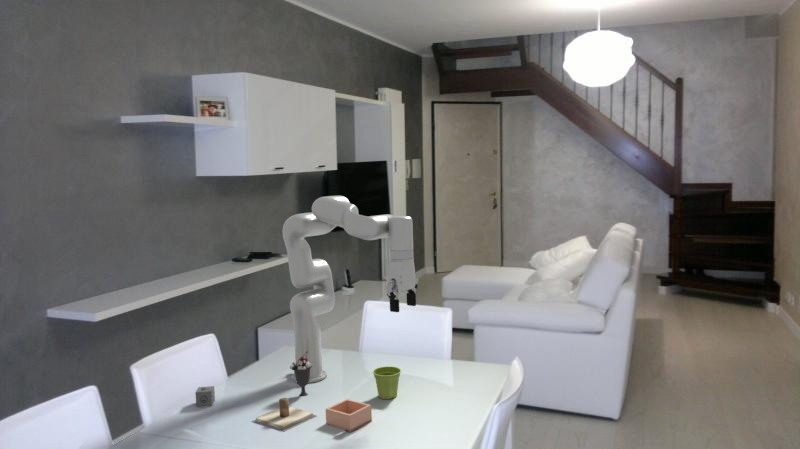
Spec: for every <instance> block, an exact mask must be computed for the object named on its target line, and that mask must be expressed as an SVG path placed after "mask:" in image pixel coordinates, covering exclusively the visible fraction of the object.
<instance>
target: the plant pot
mask: <svg viewBox="0 0 800 449" xmlns="http://www.w3.org/2000/svg"><path fill="white" fill-rule="evenodd" d="M401 373H402V369H401V368H399V367H396V366H389V365H388V366H379V367H377V368H375V369H373V370H372V374H373V376H374V380H375V383H376V389H377V395H378V397H379V398H380V399H382V400H391V399H392V398H393V399H394V398H396V397H397V396H398V388H399V380H400V379H399V378H400V376H401Z"/></svg>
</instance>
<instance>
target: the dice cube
mask: <svg viewBox="0 0 800 449" xmlns="http://www.w3.org/2000/svg"><path fill="white" fill-rule="evenodd" d="M215 402H216V395H215V386H214V385H210V386H198V387H197V389H196V391H195V406H196V408H200V407H201V408H202V407H213V406H214V403H215Z"/></svg>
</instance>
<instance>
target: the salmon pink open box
mask: <svg viewBox="0 0 800 449" xmlns="http://www.w3.org/2000/svg"><path fill="white" fill-rule="evenodd" d="M372 418H373V417H372V405H371V404H369V403H364V402H360V401H357V400H353V399H349V398H346V399H344V400H342V401H339V402H337V403H335V404H333V405H331V406H328V407H327V408H325V423H326V424H327V425H331V426H333V427H337V428H341V429H344V430H343V431H344V432H348V433H352V432H355V431H356V430H359V429H360V428H361V427H363V426H365V425H367V424H370V423H371V422H373V419H372Z"/></svg>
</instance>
